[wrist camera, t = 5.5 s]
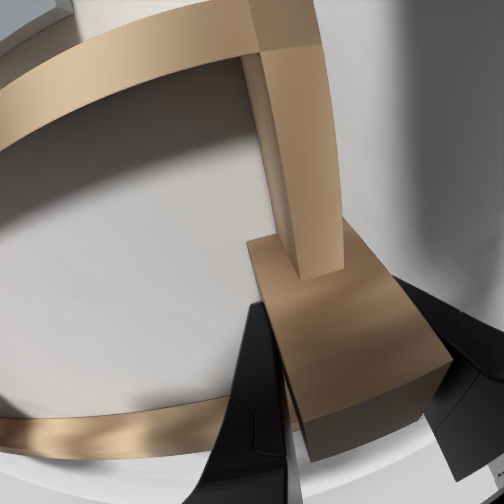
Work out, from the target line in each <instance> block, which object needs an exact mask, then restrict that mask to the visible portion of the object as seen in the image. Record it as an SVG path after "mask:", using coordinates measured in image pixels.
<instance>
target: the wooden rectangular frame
mask: <svg viewBox="0 0 504 504" xmlns="http://www.w3.org/2000/svg"><path fill="white" fill-rule="evenodd" d="M236 57H241V62H242V66H243V71H244V75H245V79H246V84H247V88H248V93H249V97H250V102H251V106H252V111H253V116H254V120H255V125H256V130H257V134H258V139H259V144H260V149H261V154H262V158H263V163H264V168H265V173H266V178H267V183H268V188H269V193H270V198H271V203H272V209H273V214H274V219H275V224H276V230H277V234H273V235H270V236H266V237H262V238H259V239H255V240H252V241H248V242H246V243H247V247H248V251H249V255H250V259H251V262H252V266H253V270H254V274H255V278H256V282H257V286H258V289H259V293H260V297H261V301H263V302H264V305H265V308H266V311H267V314H268V317H269V320H270V323H271V326H272V330H273V333H274V337H275V341H276V345H277V349H278V353H279V357H280V361H281V365H282V369H283V374H284V378H285V387H286V394H287V400H288V407H289V413H290V420H291V426H292V432H294V431H298V430H301V433H302V436H303V439H304V442H305V446H306V449H307V452H308V455H309V458H310V462H311V463H312V462H315V461H319V460H322V459H325V458H328V457H331V456H334V455H337V454H340V453H343V452H345V451H348V450H351V449H354V448H356V447H359V446H361V445H364V444H366V443H369V442H371V441H374V440H376V439H379V438H381V437H383V436H386V435H388V434H390V433H392V432H395V431H397V430H399V429H401V428H403V427H405V426H407V425H409V424H412V423H414V422H416V421H418V420H419V419H420V417H421V415H422V414H423V412H424V411H425V409H426V407H427V406H428V404H429V403H430V401H431V399H432V398H433V396H434V394H435V392H436V391H437V389H438V387H439V385H440V384H441V382H442V380H443V378H444V376H445V374H446V373H447V371H448V369H449V367H450V365H451V363H452V361H453V358H452V357H451V355H450V354H449V352H448V351H447V350H446V348H445V347H444V345H443V344H442V342H441V341H440V339H439V338H438V337H437V335H436V334H435V332H434V331H433V330H432V328H431V327H430V325H429V324H428V323H427V321H426V320H425V318H424V317H423V316H422V314H421V313H420V312H419V310H418V309H417V308H416V306H415V305H414V304H413V302H412V301H411V300H410V298H409V297H408V296H407V294H406V293H405V292H404V291H403V289H402V288H401V287H400V285H399V284H398V283H397V282H396V280H395V279H394V278H393V276H392V275H391V274H390V273H389V271H388V270H387V269H386V268H385V266H384V265H383V264H382V263H381V262H380V260H379V259H378V258H377V257H376V255H375V254H374V253H373V252H372V251H371V249H370V248H369V247H368V246H367V245H366V243H365V242H364V241H363V240H362V239H361V238H360V236H359V235H358V234H357V233H356V232H355V231H354V229H353V228H352V227H351V226H350V225H349V224H348V223H347V221H346V220H345V219H344V218H343V217H342V204H341V190H340V177H339V165H338V155H337V145H336V136H335V127H334V119H333V111H332V104H331V97H330V90H329V83H328V77H327V70H326V64H325V59H324V53H323V48H322V42H321V37H320V32H319V27H318V22H317V17H316V13H315V8H314V4H313V0H210V1H205V2H201V3H196V4H192V5H188V6H184V7H180V8H176V9H173V10H169V11H166V12H162V13H159V14H156V15H152V16H149V17H146V18H143V19H140V20H137V21H134V22H132V23H129V24H126V25H123V26H121V27H118V28H116V29H113V30H111V31H108V32H106V33H103V34H101V35H98V36H96V37H94V38H92V39H89V40H87V41H85V42H83V43H81V44H79V45H76V46H74V47H72V48H70V49H68V50H66V51H64V52H62V53H60V54H59V55H57V56H55V57H53V58H51V59H49V60H47V61H46V62H44V63H42V64H40V65H39V66H37V67H35V68H34V69H32V70H30V71H29V72H27V73H25V74H24V75H22V76H20V77H19V78H17V79H16V80H14V81H13V82H11V83H10V84H8V85H7V86H5V87H4V88H2V89H1V90H0V152H1V151H2V150H4V149H6V148H7V147H9V146H10V145H12V144H14V143H15V142H17V141H19V140H20V139H22V138H24V137H26V136H27V135H29V134H31V133H33V132H34V131H36V130H38V129H40V128H42V127H43V126H45V125H47V124H49V123H51V122H53V121H55V120H57V119H59V118H61V117H63V116H65V115H67V114H69V113H71V112H73V111H75V110H78V109H80V108H82V107H84V106H86V105H89V104H91V103H93V102H95V101H98V100H100V99H102V98H105V97H107V96H110V95H112V94H115V93H117V92H120V91H122V90H125V89H128V88H130V87H133V86H136V85H139V84H142V83H145V82H147V81H150V80H153V79H156V78H160V77H163V76H166V75H169V74H172V73H176V72H179V71H183V70H186V69H190V68H193V67H197V66H201V65H205V64H209V63H213V62H217V61H222V60H226V59H231V58H236ZM229 397H230V396H226V397H222V398H217V399H212V400H207V401H202V402H197V403H192V404H187V405H181V406H175V407H169V408H163V409H157V410H150V411H142V412H135V413H126V414H117V415H107V416H96V417H81V418H61V419H7V418H0V452H4V453H10V454H17V455H25V456H34V457H44V458H57V459H77V460H119V459H139V458H153V457H164V456H174V455H182V454H190V453H197V452H203V451H210V450H212V448H213V446H214V443H215V441H216V438H217V435H218V433H219V430H220V427H221V424H222V421H223V417H224V414H225V410H226V406H227V402H228V398H229Z"/></svg>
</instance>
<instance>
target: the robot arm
mask: <svg viewBox="0 0 504 504" xmlns="http://www.w3.org/2000/svg"><path fill="white" fill-rule="evenodd" d="M392 276H393V275H392ZM393 278H394V279H395V280H396V282H397V283H398V284H399V285H400V287H401V288H402V289H403V291H404V292H405V293H406V294H407V296H408V297H409V298H410V300H411V301H412V302H413V304H414V305H415V306H416V308H417V309H418V310H419V312H420V313H421V314H422V316H423V317H424V318H425V320H426V321H427V323H428V324H429V325H430V327H431V328H432V330H433V331H434V332H435V334H436V335H437V337H438V338H439V339H440V341H441V342H442V344H443V345H444V347H445V348H446V350H447V351H448V352H449V354H450V355H451V357H452V358H453V361H452V363H451V365H450V367H449V369H448V371H447V373H446V374H445V376H444V378H443V380H442V382H441V384H440V385H439V387H438V389H437V391H436V392H435V394H434V396H433V398H432V399H431V401H430V403H429V404H428V406H427V407H426V409H425V411H424V412H423V413H424V415H425V417H426V419H427V421H428V423H429V425H430V427H431V429H432V431H433V433H434V436H435V438H436V440H437V442H438V444H439V446H440V448H441V450H442V453H443V455H444V457H445V459H446V461H447V463H448V465H449V468H450V470H451V472H452V475H453V477H454V479H455V481H456V482H458V481H460V480H462V479H463V478H465V477H467V476H469V475H471V474H472V473H474V472H475V471H477V470H479V469H481V468H482V467H484V466H485V465H487V464H488V466H489V468H490V471H491V472H492V475H493V477H494V479H495V483H496V485H497V487H498V489H499V491H497V492H496V493H495V494H493V495H492V496H491V497H489V498H488V499H487V500H485V501H484V502H482V503H481V504H504V332H503V331H501V330H498V329H496V328H494V327H492V326H490V325H487V324H485V323H483V322H481V321H479V320H477V319H475V318H473V317H471V316H470V315H468V314H466V313H464V312H460V310H458V309H456V308H455V307H453V306H451V305H449V304H447V303H445V302H443V301H441V300H440V299H438V298H436V297H434V296H432V295H430V294H428V293H426V292H424V291H422V290H420V289H419V288H417V287H415V286H413V285H411V284H409V283H407V282H405V281H403V280H401V279H399V278H397V277H395V276H393ZM229 396H230V397H229V398H228V402H227V406H226V410H225V414H224V417H223V421H222V424H221V427H220V430H219V433H218V435H217V438H216V441H215V443H214V446H213V448H212V451H211V453H210V456H209V458H208V461H207V463H206V465H205V468H204V470H203V473H202V475H201V477H200V479H199V481H198V483H197V485H196V487H195V488H194V490H193V491H192V493H191V494H190V495H189V496H188V497H187V498H186V500H185V501H184V502H183V503H182V504H303V500H302V493H301V488H300V480H299V473H298V466H297V459H296V453H295V446H294V439H293V433H292V426H291V420H290V413H289V407H288V400H287V394H286V387H285V381H284V375H283V369H282V365H281V361H280V357H279V353H278V349H277V345H276V341H275V337H274V333H273V330H272V326H271V323H270V320H269V317H268V314H267V311H266V308H265V305H264V302H263V301H260V302H256V303H253V304H251V305H250V307H249V312H248V316H247V320H246V325H245V329H244V334H243V338H242V342H241V347H240V351H239V355H238V360H237V364H236V368H235V373H234V377H233V381H232V385H231V390H230V394H229Z"/></svg>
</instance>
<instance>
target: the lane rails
mask: <svg viewBox="0 0 504 504" xmlns="http://www.w3.org/2000/svg"><path fill="white" fill-rule="evenodd" d="M73 13H74V11H73V7H72V2H71V0H0V57H1V56H2V55H4V54H5V53H6V52H8V51H9V50H11V49H12V48H14V47H15V46H17V45H18V44H20V43H21V42H23V41H25V40H26V39H28V38H29V37H31V36H33V35H34V34H36V33H38V32H39V31H41V30H43V29H45V28H46V27H48V26H50V25H52V24H54V23H56V22H57V21H59V20H61V19H63V18H65V17H67V16H69V15H71V14H73Z"/></svg>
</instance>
